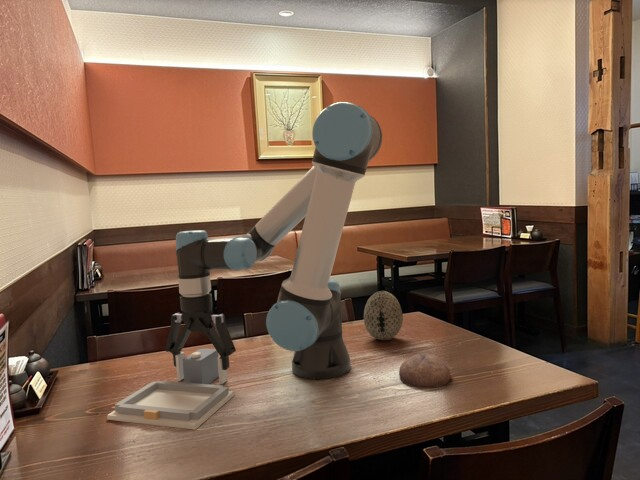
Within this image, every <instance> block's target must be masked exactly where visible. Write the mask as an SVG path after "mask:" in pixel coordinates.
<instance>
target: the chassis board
mask: <svg viewBox="0 0 640 480" xmlns="http://www.w3.org/2000/svg"><path fill="white" fill-rule="evenodd" d="M234 396H235V390H229V387H226V386H225V385H224V384H211V383H210V384H198V383H185V382H184V381H182V382H181V381H173V380H172V381H171V380H170V381H169V380H159V381H154V380H153V381H151V382H149V383H147V384H146V385H144V386H143V387H141V388H140V389H138V390H136V391H135V392H133V393H132V394H129V395H128V396H126V397H125V398H123V399H121V400H120V401H118V402H117V403H115V404H114V410H113V411H111V412H110V413H108V414H107V417H106V418H107V420H108V421H109V420H110V421H116V422H117V421H118V422H124V423H125V422H126V423H133V424H134V423H135V424H142V425H150V426H151V425H152V426H158V427H159V426H161V427H168V428H169V427H170V428H178V429H187V430H193V431H195V430H197V429H198V428H200V426H201V425H202V424H204V423H205V422H206V421H207V420H208V419H209V418H210V417H212V415H214V413H217V411H218V410H219V409H220V408H222V407H223V406H224V405H225V404H226V403H227V402H228V401H230V400H231V399H232V398H233V397H234Z"/></svg>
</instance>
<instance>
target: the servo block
mask: <svg viewBox="0 0 640 480" xmlns="http://www.w3.org/2000/svg"><path fill="white" fill-rule="evenodd" d="M218 357H219V353H218V352H217V350H216V349H215V348H199V349H197V350H196V351H194V352H192V353H190V354H189V355H187V356H186V357H185V358H184V359H182V360H183V373H184V379H183V382H185V383H198V384H211V383H213V382H214V381H215V380H216V379H217V378H218V379H219V373H218V359H217V358H218Z"/></svg>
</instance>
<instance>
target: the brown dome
mask: <svg viewBox="0 0 640 480" xmlns="http://www.w3.org/2000/svg"><path fill="white" fill-rule="evenodd" d="M398 375H399V379H400V380H401V381H402V382H403V383H404V384H406V385H407V386H411V387H414V388H422V389H423V388H424V389H430V388H437V387H442V386H445V385H447V384H448V383H449V381H450V380H451V370H450V368H449V367H448V366H447V364H445V363H444V362H443V361H442V359H440V358H439V357H437V356H435V355H433V354H428V355H427V354H424V353H423V354H422V353H418V354H414V355H412V356H410V357H407V358H406V359H405V360H404V361H403V362H402V363H401V365H400V367H399V370H398Z"/></svg>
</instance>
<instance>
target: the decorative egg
mask: <svg viewBox="0 0 640 480" xmlns="http://www.w3.org/2000/svg"><path fill="white" fill-rule="evenodd" d="M403 317H404V316H403V310H402V307H401V305H400V302H399V301H398V299H397V298H396V296H395V295H393V294H392V293H390V292H388V291H385V290H380V291H376V292H374V293H372V295H370V297H369V298H368V299H367V301H366V304H365V305H364V309H363V323H364V326H365V327H364V328H365V330H366V331H367V332H368V334H369V335H370V336H371V337H373V338H374V339H376V340H379V341H388V340H391V339H393V338H395V337H396V336H397V335H398V334H399V332H400V331H401V328H402V326H403V320H404V318H403Z"/></svg>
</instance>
